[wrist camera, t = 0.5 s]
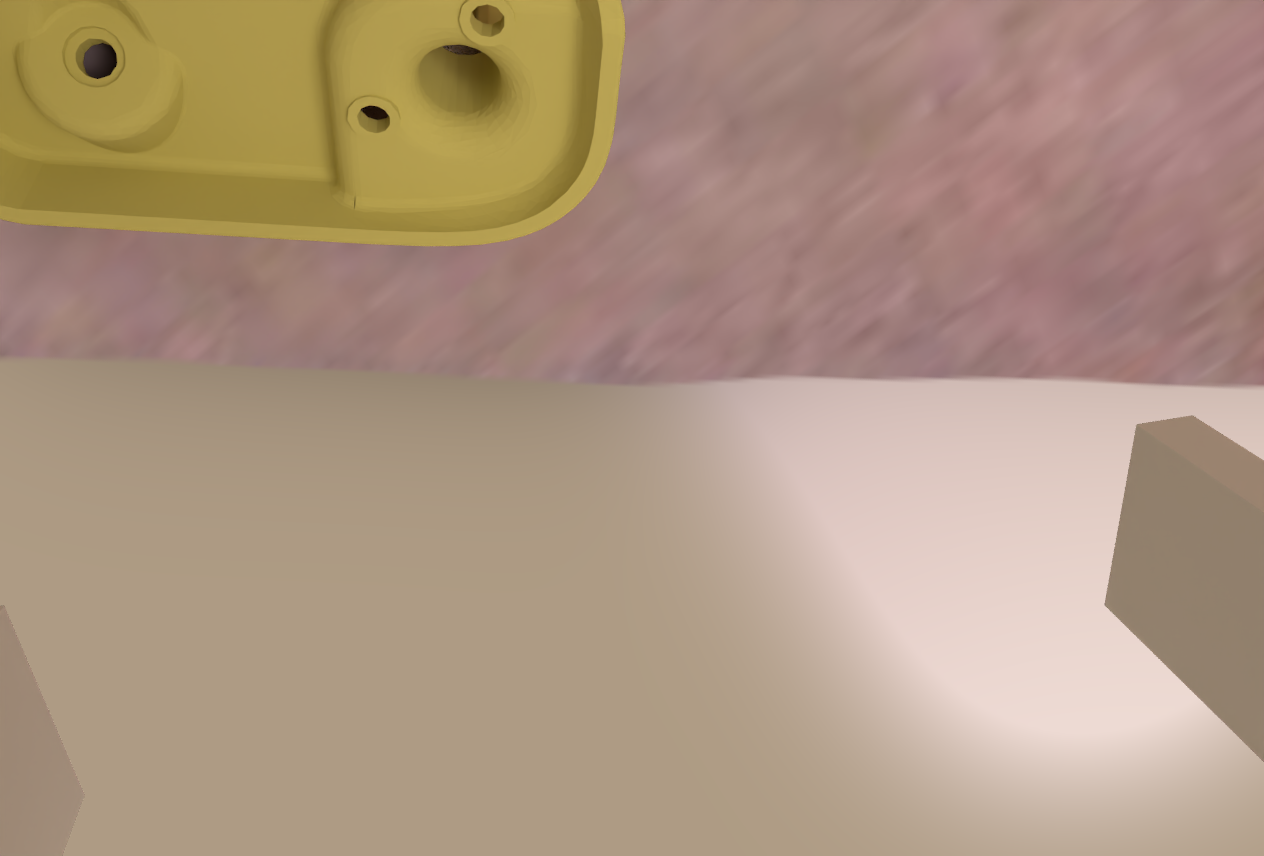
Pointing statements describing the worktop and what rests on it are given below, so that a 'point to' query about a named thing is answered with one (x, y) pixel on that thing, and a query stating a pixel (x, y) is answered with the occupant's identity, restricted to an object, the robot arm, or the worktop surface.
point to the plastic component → (308, 116)
